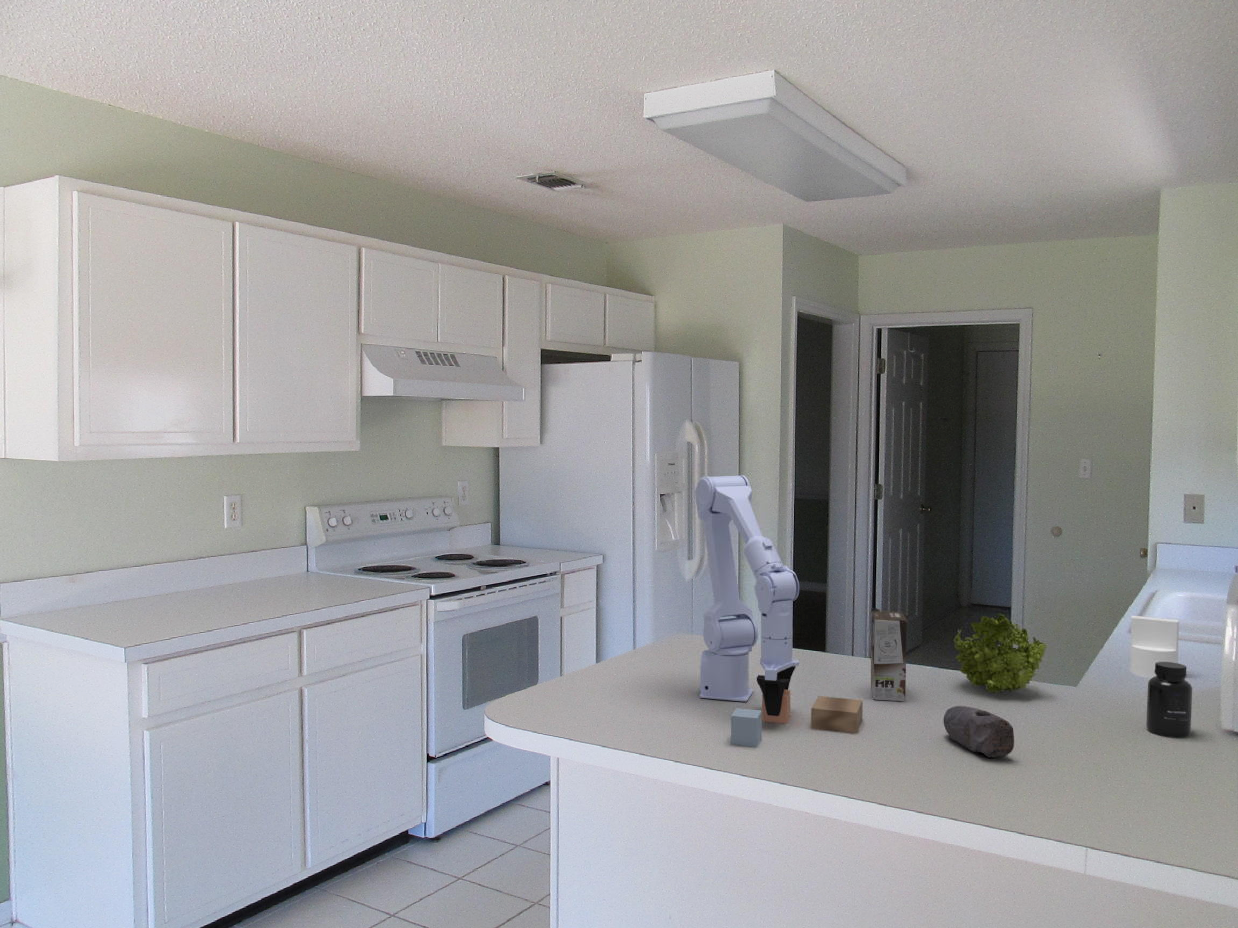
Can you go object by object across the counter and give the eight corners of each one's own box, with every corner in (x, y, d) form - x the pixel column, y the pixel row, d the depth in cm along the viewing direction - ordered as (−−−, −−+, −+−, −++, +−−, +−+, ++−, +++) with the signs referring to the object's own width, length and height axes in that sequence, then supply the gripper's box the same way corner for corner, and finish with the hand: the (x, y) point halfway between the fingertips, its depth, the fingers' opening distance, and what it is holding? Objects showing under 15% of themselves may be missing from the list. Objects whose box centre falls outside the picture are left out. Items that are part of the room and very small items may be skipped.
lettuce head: (1069, 669, 192) (1048, 628, 183) (1017, 724, 191) (994, 686, 181) (998, 624, 207) (976, 584, 197) (949, 675, 205) (925, 637, 196)
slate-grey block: (730, 744, 163) (731, 715, 162) (736, 736, 167) (736, 708, 167) (757, 747, 161) (757, 718, 161) (761, 738, 165) (761, 710, 165)
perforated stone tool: (933, 735, 167) (933, 696, 166) (958, 732, 168) (959, 694, 168) (990, 765, 152) (990, 722, 152) (1017, 762, 154) (1018, 719, 153)
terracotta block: (762, 721, 175) (762, 694, 175) (766, 714, 179) (766, 687, 179) (786, 723, 174) (787, 696, 173) (790, 716, 178) (790, 689, 178)
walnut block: (811, 729, 171) (811, 707, 171) (818, 716, 178) (818, 695, 178) (856, 735, 168) (857, 712, 168) (862, 721, 175) (862, 700, 175)
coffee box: (906, 701, 186) (907, 620, 186) (872, 700, 188) (873, 618, 187) (902, 688, 195) (903, 610, 194) (870, 687, 197) (870, 609, 196)
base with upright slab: (1178, 671, 207) (1179, 617, 207) (1176, 681, 200) (1178, 624, 199) (1131, 666, 212) (1132, 612, 212) (1128, 675, 205) (1129, 620, 204)
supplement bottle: (1175, 740, 163) (1177, 671, 163) (1137, 729, 169) (1139, 662, 169) (1199, 734, 167) (1201, 666, 166) (1161, 723, 173) (1163, 657, 172)
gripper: (793, 646, 168) (793, 722, 168) (803, 629, 181) (803, 699, 182) (753, 643, 170) (753, 719, 170) (766, 627, 183) (766, 696, 184)
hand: (776, 709), depth 176 cm, fingers open, 7 cm apart
